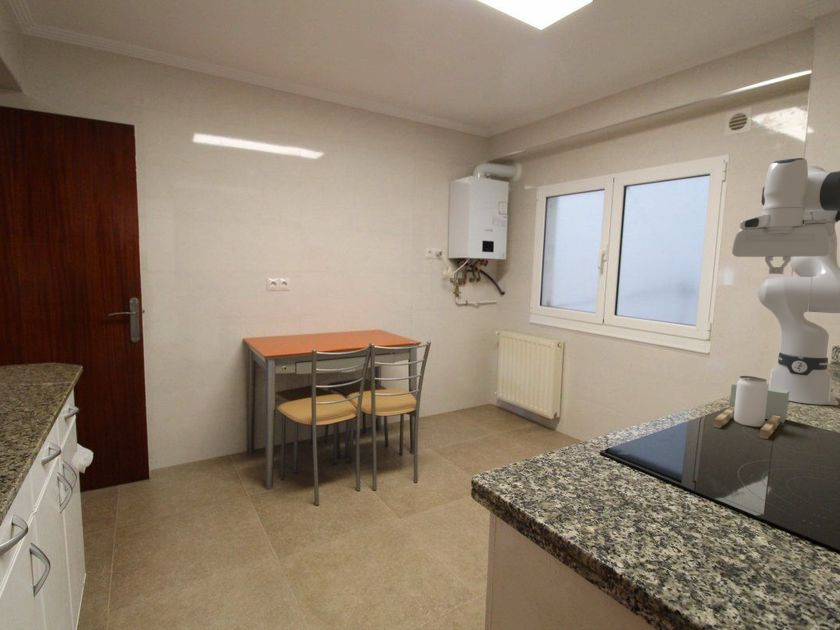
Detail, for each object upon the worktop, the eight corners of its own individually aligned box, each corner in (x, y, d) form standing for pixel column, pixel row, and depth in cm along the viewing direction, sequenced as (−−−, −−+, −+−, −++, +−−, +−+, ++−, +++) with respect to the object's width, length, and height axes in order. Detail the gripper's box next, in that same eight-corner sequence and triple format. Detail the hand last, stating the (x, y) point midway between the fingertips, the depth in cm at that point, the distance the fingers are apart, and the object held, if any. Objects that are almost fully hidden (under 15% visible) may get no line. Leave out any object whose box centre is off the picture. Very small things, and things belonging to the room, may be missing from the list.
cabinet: (733, 408, 129) (735, 381, 128) (786, 419, 120) (789, 390, 119) (729, 412, 125) (731, 384, 125) (783, 423, 117) (786, 393, 116)
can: (753, 420, 119) (758, 376, 118) (770, 428, 112) (775, 381, 111) (728, 418, 119) (732, 374, 118) (743, 426, 113) (747, 380, 112)
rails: (729, 413, 124) (730, 406, 124) (779, 424, 116) (780, 416, 116) (713, 426, 112) (713, 418, 112) (767, 439, 104) (768, 431, 104)
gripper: (836, 220, 112) (830, 275, 113) (738, 224, 127) (733, 273, 128) (834, 217, 108) (827, 274, 109) (733, 222, 122) (728, 272, 124)
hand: (776, 273), depth 118 cm, fingers closed
